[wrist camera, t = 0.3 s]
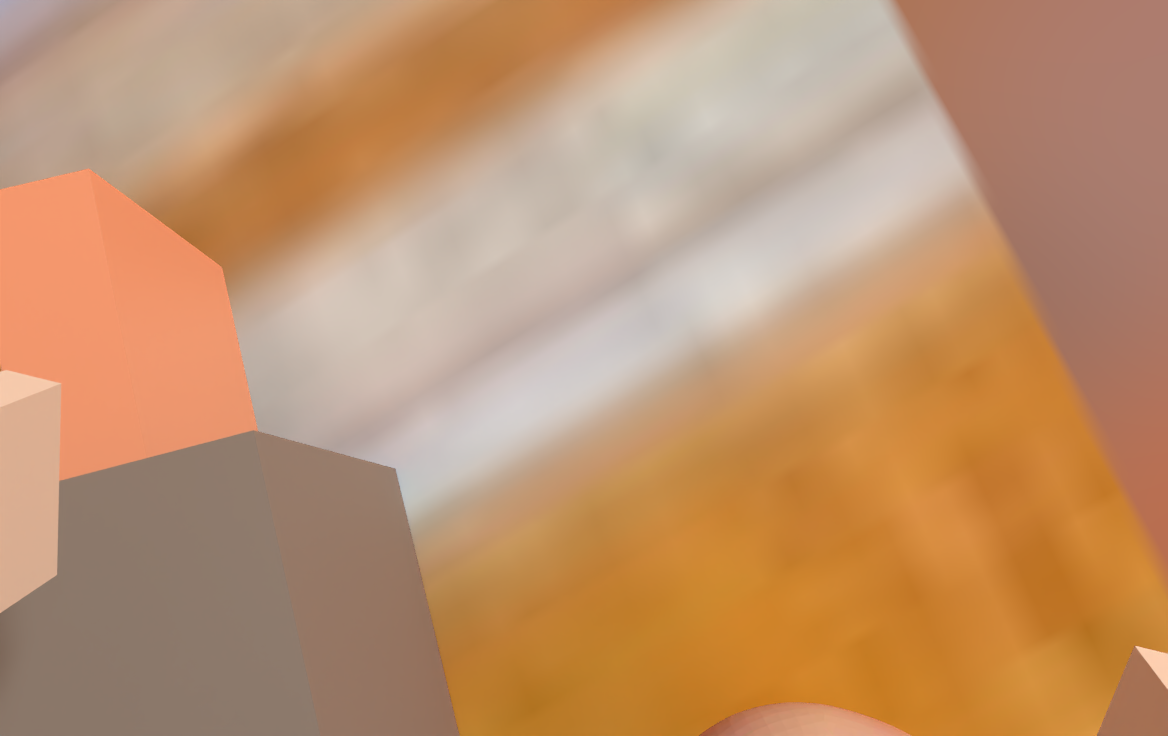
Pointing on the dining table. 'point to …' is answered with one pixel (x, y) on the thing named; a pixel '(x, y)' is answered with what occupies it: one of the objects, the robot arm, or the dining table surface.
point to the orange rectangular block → (117, 324)
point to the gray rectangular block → (228, 603)
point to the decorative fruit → (801, 722)
